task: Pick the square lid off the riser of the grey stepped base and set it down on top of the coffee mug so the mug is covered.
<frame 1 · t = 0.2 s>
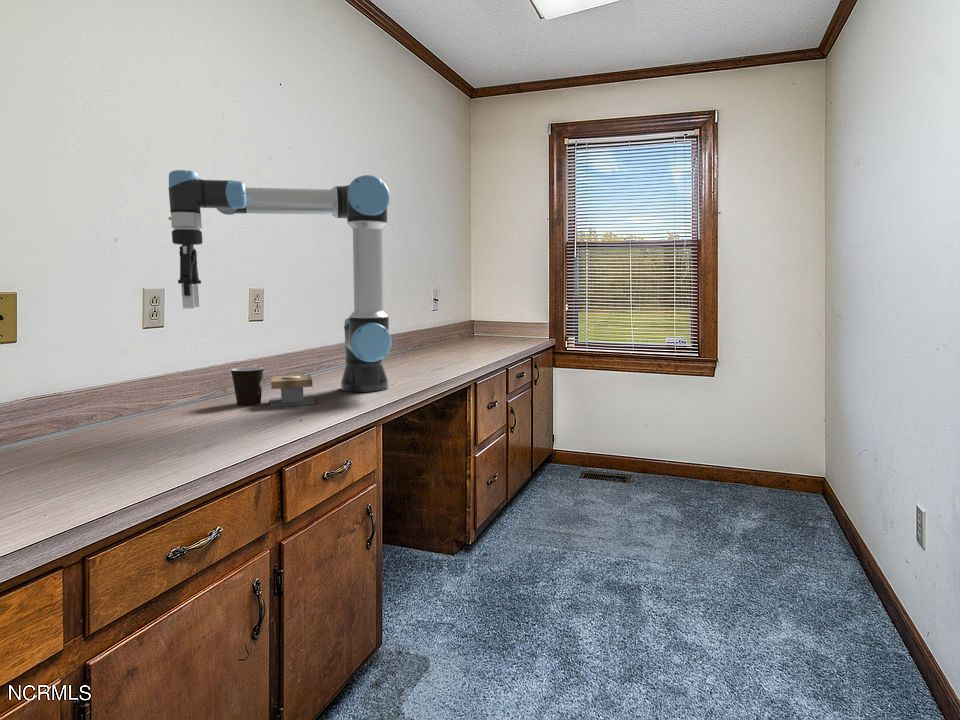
hand: (191, 307, 178), 28 cm above the worktop, fingers open, 13 cm apart
grey stepped base: (292, 402, 185), on the worktop
coffee mug: (252, 403, 185), on the worktop
lid: (291, 384, 185), point 5 cm above the worktop, touching grey stepped base
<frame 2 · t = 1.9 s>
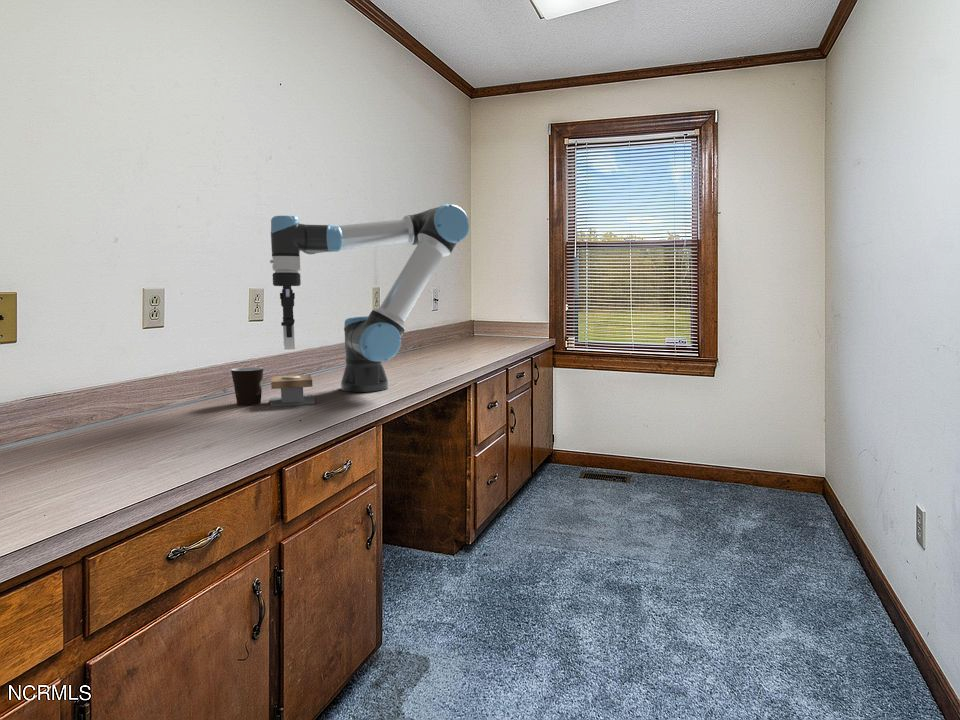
hand: (289, 347, 183), 16 cm above the worktop, fingers open, 13 cm apart
nothing on the worktop moved.
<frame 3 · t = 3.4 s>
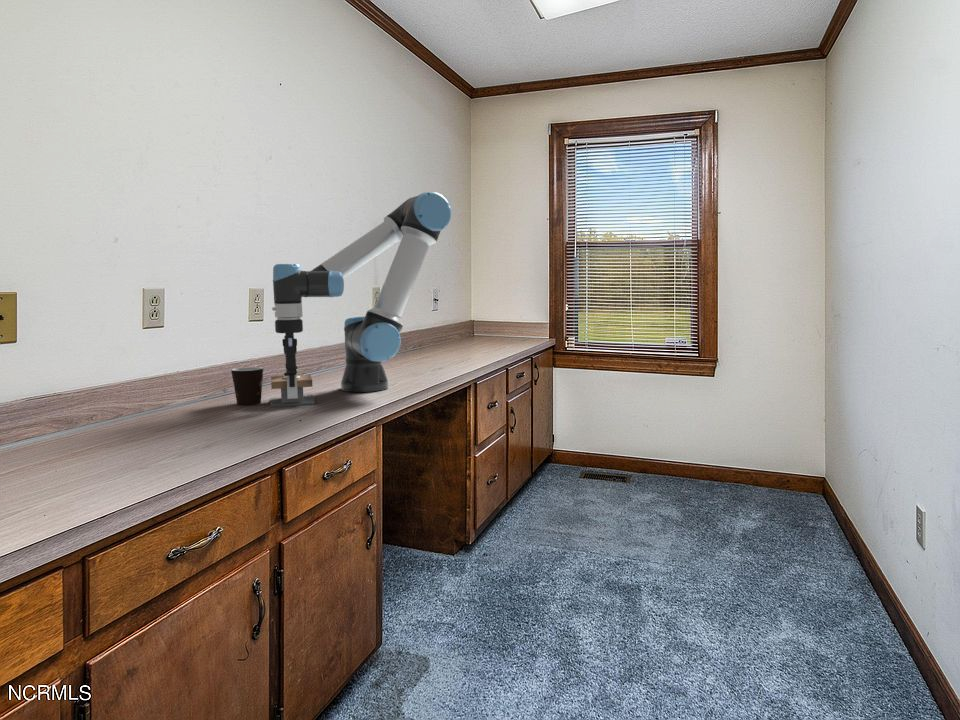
hand: (292, 395, 185), 2 cm above the worktop, fingers closed on lid, 11 cm apart
lid: (291, 384, 185), point 5 cm above the worktop, touching gripper, grey stepped base
everything else where it was.
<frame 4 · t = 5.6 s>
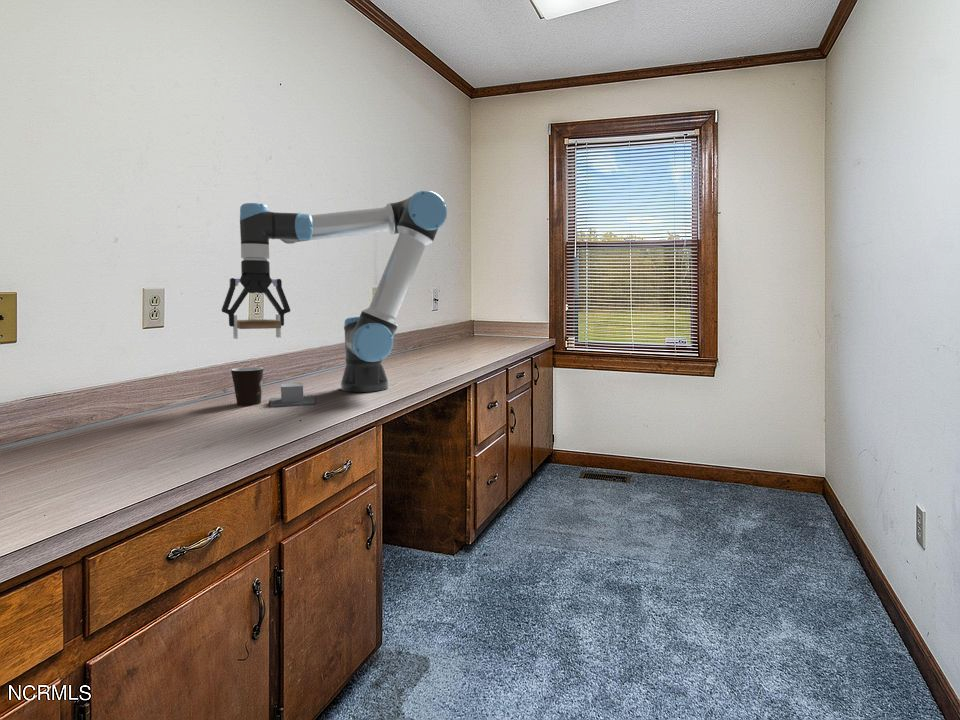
hand: (257, 337, 183), 19 cm above the worktop, fingers closed on lid, 11 cm apart
lid: (257, 327, 183), point 22 cm above the worktop, touching gripper
everything else where it was.
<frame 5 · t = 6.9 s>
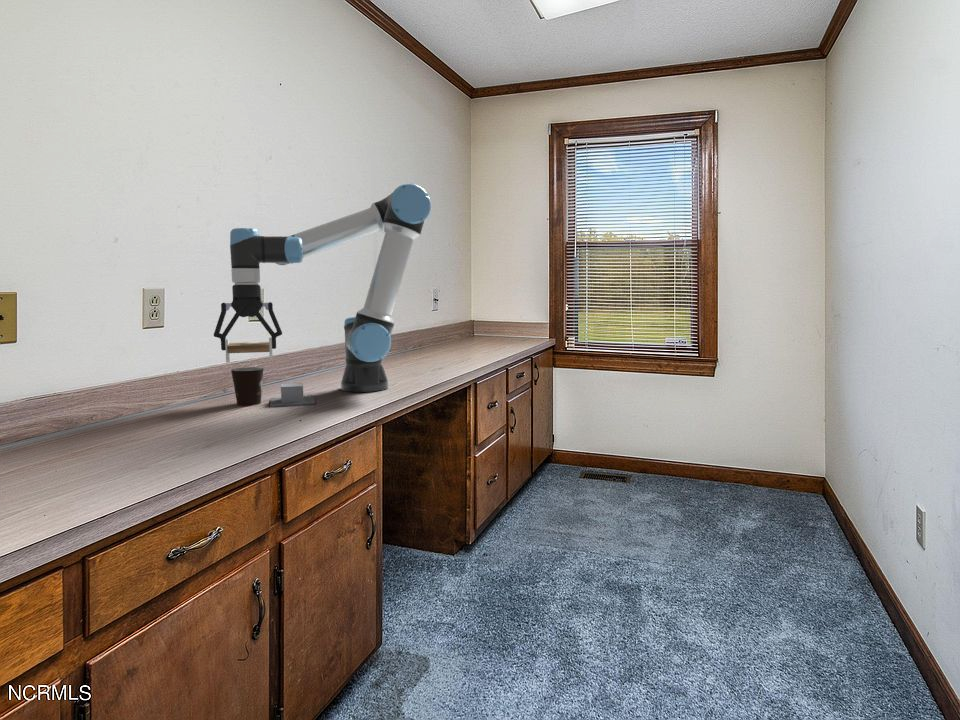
hand: (249, 361, 184), 12 cm above the worktop, fingers closed on lid, 11 cm apart
lid: (249, 350, 184), point 15 cm above the worktop, touching gripper
everything else where it was.
when the fingers open (10 cm above the worktop, at t = 8.0 s): lid drops 2 cm, resting on coffee mug.
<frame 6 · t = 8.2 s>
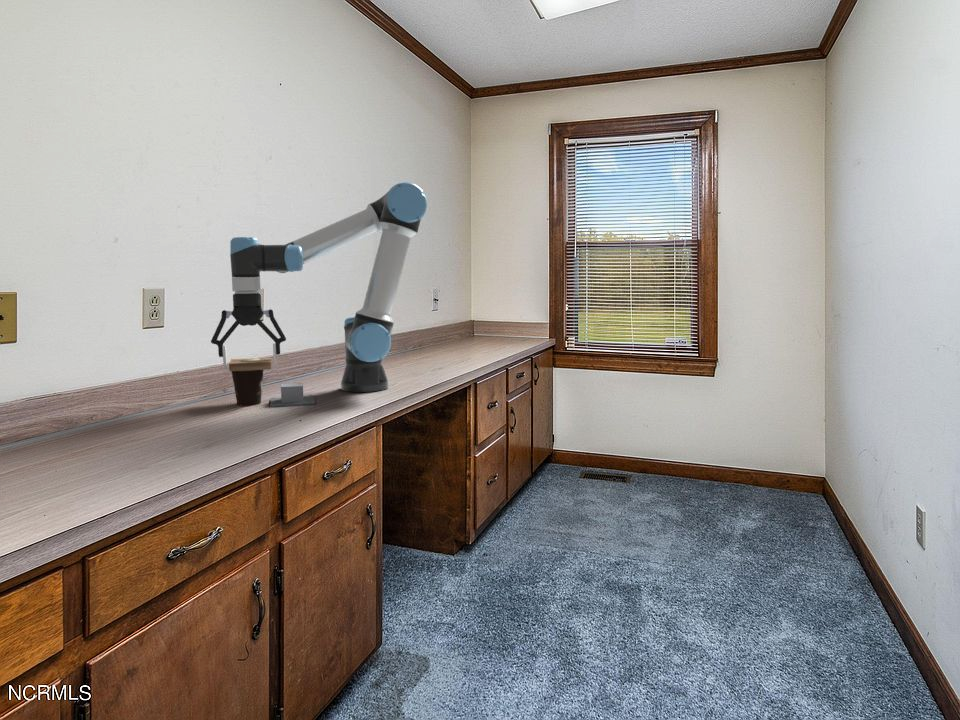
hand: (250, 367, 185), 10 cm above the worktop, fingers open, 13 cm apart
coffee mug: (252, 403, 185), on the worktop, touching lid
lid: (251, 367, 185), point 10 cm above the worktop, touching coffee mug
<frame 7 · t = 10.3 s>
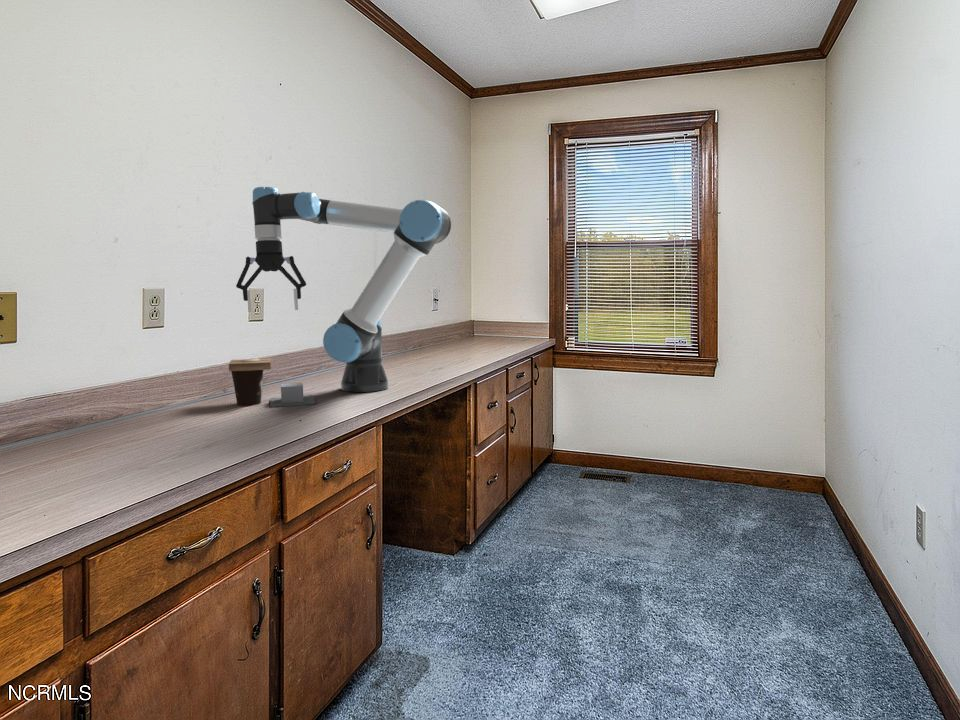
hand: (273, 311, 196), 26 cm above the worktop, fingers open, 13 cm apart
nothing on the worktop moved.
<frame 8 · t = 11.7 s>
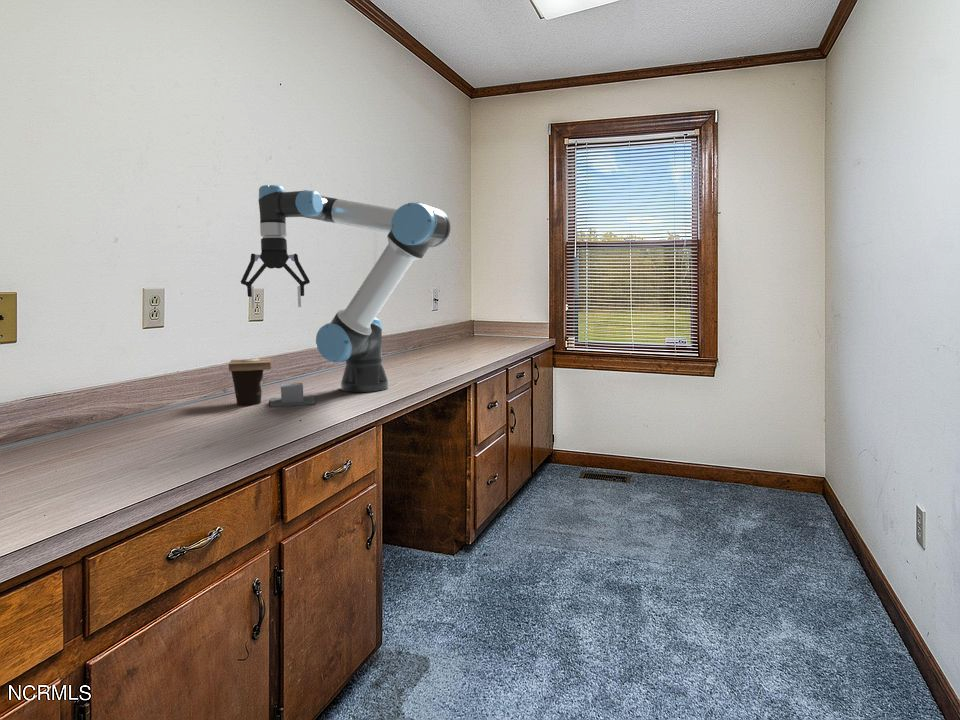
hand: (276, 307, 199), 27 cm above the worktop, fingers open, 13 cm apart
nothing on the worktop moved.
at the end: lid 0.6 cm from the coffee mug (horizontally); lid point 10.0 cm above the worktop; lid tilted 0° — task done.
